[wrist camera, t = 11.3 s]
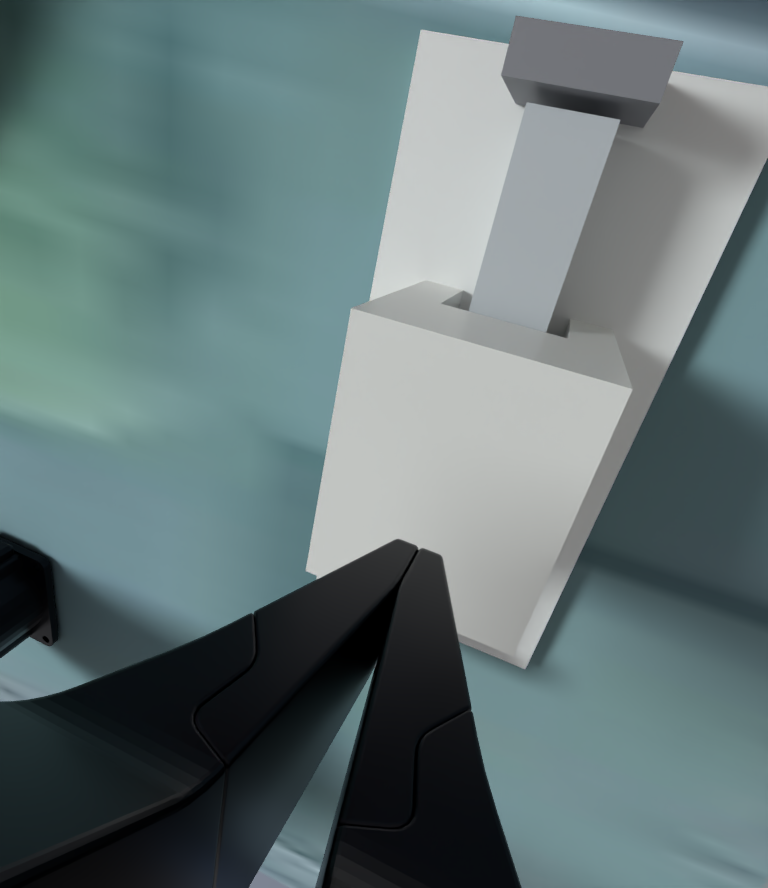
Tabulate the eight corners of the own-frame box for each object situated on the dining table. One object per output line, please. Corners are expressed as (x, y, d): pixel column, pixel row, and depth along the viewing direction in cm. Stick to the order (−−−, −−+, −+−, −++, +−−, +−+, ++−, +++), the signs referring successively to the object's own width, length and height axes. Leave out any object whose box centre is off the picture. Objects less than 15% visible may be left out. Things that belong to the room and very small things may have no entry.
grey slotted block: (534, 529, 18) (517, 657, 13) (380, 475, 19) (305, 570, 14) (616, 330, 15) (638, 390, 9) (425, 279, 16) (351, 308, 11)
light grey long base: (526, 658, 21) (517, 736, 17) (321, 573, 22) (280, 630, 19) (789, 97, 12) (863, 53, 9) (426, 37, 14) (383, -18, 11)
